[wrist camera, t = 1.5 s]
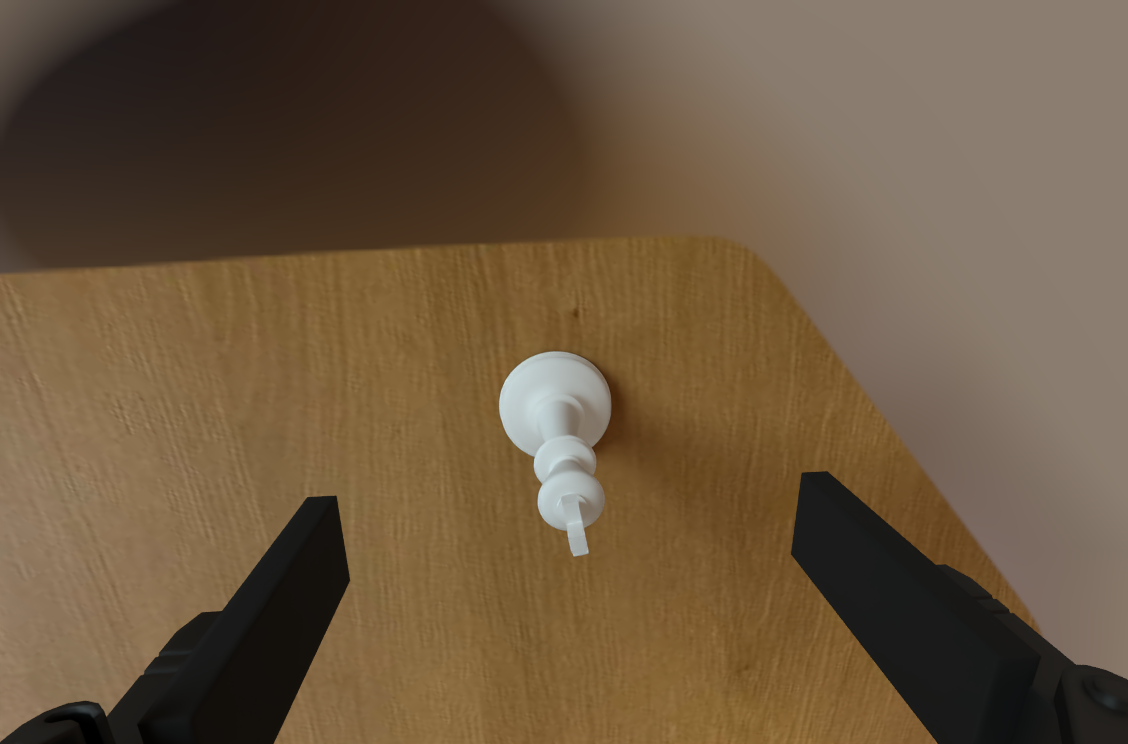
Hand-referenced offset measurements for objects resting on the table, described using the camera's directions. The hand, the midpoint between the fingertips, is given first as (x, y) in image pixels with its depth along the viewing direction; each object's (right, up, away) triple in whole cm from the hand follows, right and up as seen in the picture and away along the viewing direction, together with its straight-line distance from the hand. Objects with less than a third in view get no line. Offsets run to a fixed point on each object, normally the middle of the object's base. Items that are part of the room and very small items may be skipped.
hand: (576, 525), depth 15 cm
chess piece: (-1, +3, +8) cm, 9 cm away
